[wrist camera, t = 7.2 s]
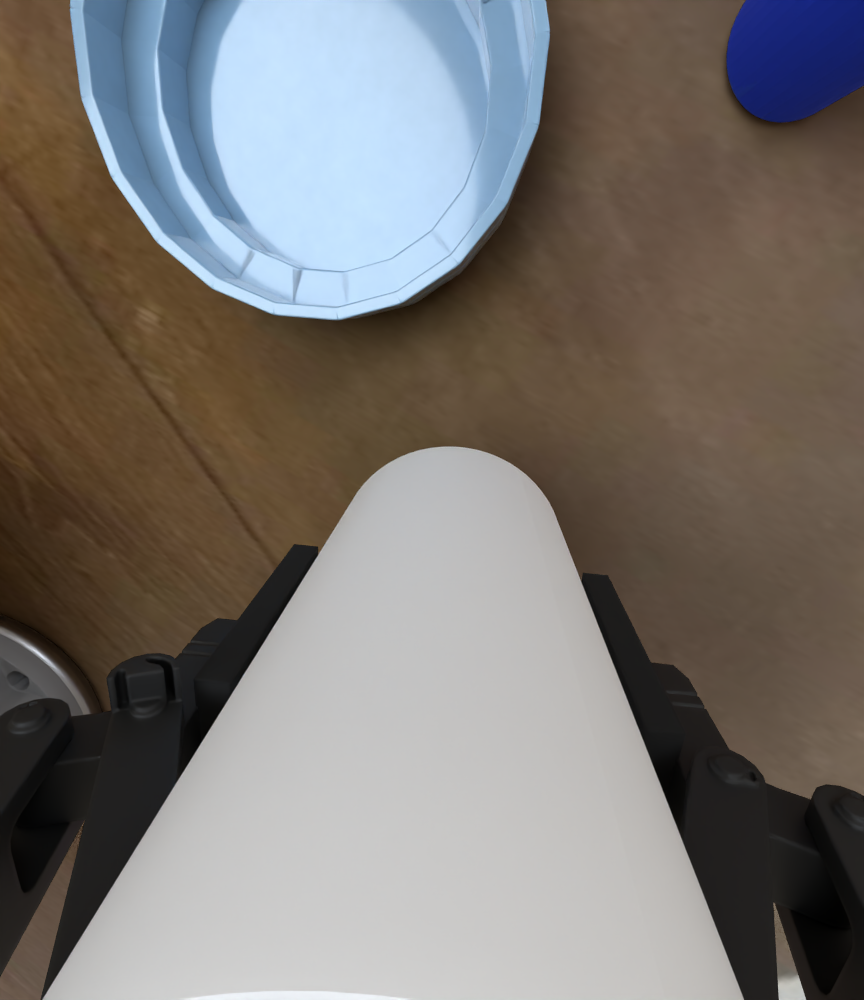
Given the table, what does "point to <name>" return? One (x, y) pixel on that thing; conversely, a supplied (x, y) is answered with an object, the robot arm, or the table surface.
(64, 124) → the table surface
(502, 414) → the table surface
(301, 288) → the bowl
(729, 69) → the beverage can
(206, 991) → the cup
